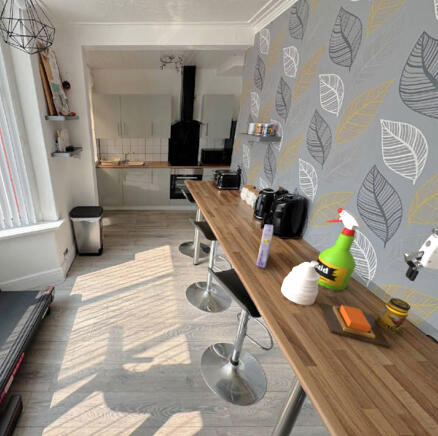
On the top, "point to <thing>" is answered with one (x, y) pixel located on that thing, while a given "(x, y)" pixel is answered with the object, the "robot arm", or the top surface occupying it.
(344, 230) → the spray bottle
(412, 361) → the top surface
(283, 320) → the top surface
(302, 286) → the honey pot
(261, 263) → the cake pan box
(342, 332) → the board
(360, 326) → the pad
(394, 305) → the condiment
